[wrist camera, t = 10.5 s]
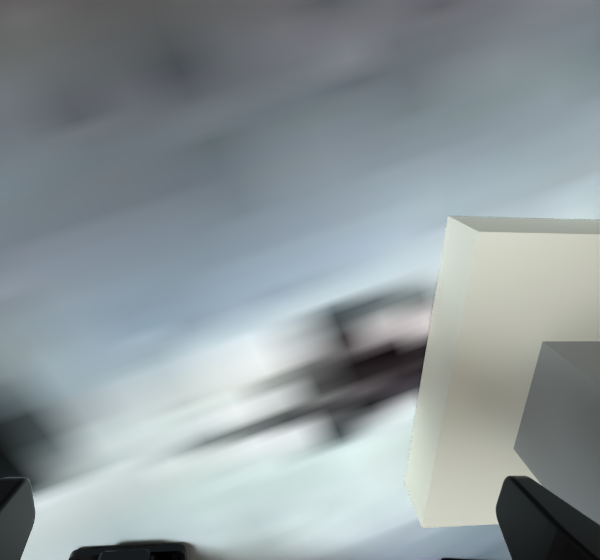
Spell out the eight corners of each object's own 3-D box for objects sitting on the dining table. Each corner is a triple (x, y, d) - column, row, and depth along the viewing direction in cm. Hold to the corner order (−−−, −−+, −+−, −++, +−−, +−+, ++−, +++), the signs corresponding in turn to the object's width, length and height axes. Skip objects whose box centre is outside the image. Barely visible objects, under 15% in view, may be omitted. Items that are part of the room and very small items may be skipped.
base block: (621, 474, 27) (663, 515, 24) (403, 483, 26) (421, 528, 23) (717, 222, 22) (786, 238, 19) (448, 215, 20) (478, 231, 17)
